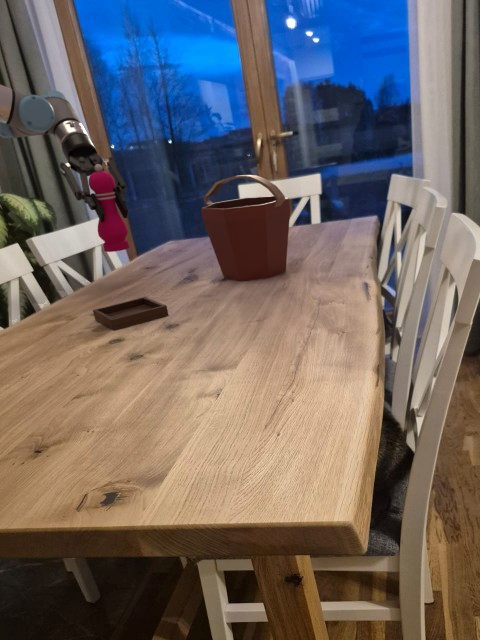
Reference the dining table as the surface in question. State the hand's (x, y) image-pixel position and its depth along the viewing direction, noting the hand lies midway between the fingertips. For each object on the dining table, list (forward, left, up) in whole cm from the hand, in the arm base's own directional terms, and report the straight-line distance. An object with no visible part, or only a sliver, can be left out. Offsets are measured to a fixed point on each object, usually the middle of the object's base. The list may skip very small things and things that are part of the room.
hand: (114, 216), depth 139 cm
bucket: (+24, +23, -20) cm, 39 cm away
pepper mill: (-3, +2, -8) cm, 9 cm away
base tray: (+11, -17, -20) cm, 28 cm away
